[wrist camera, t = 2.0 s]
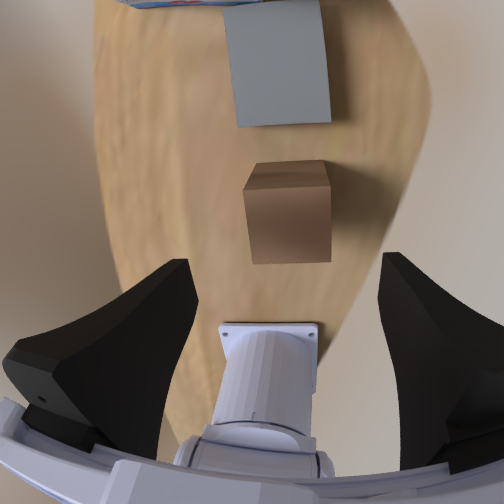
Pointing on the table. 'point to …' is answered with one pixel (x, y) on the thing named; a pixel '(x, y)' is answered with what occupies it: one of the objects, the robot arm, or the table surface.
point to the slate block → (278, 63)
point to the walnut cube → (289, 212)
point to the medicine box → (183, 2)
